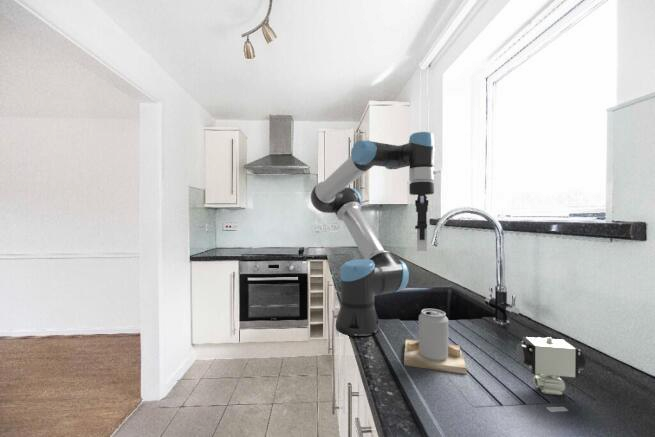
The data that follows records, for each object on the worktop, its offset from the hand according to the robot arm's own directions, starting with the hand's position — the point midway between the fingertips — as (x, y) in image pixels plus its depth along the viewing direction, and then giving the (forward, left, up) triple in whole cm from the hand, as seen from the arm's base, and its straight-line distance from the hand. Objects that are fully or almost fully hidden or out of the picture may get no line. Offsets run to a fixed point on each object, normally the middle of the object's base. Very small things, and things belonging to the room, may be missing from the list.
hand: (421, 248), depth 93 cm
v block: (+11, -7, -29) cm, 32 cm away
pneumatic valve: (+34, +4, -29) cm, 45 cm away
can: (+13, -9, -27) cm, 31 cm away
